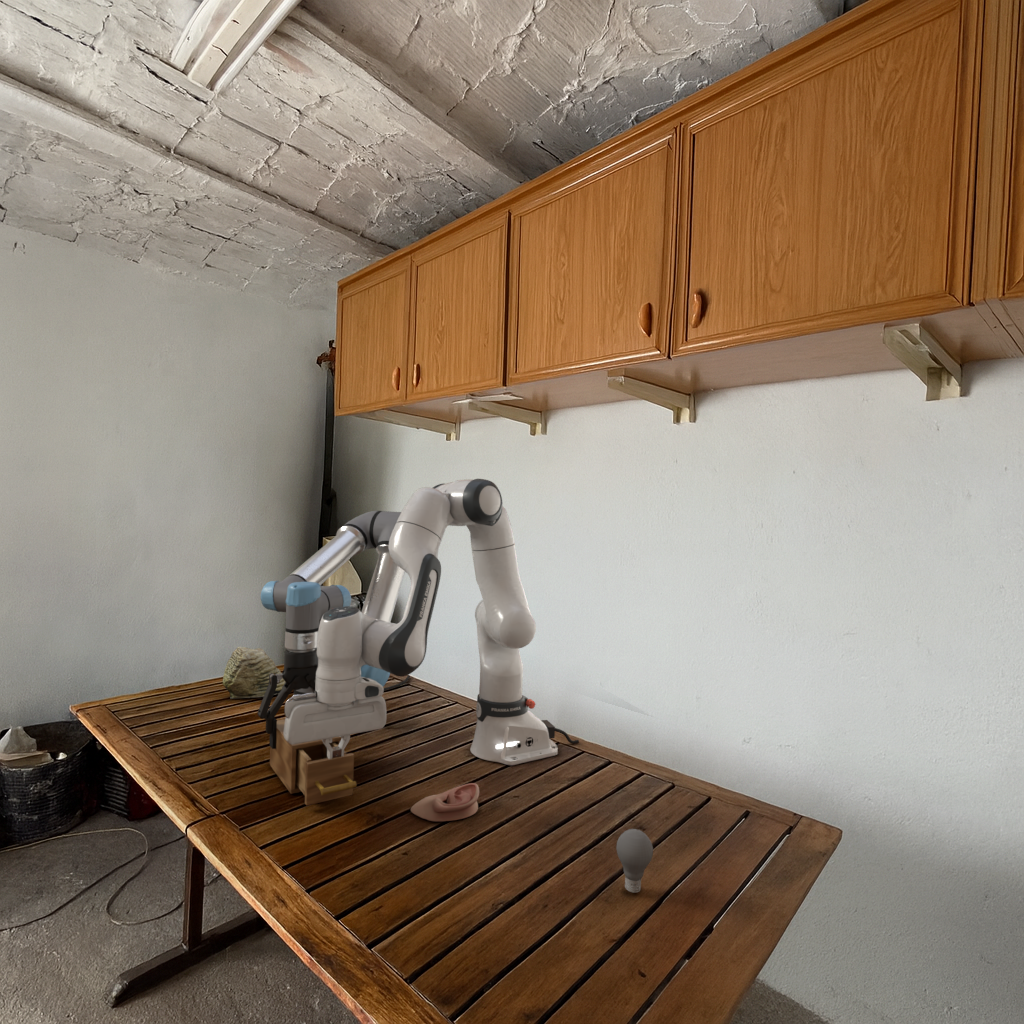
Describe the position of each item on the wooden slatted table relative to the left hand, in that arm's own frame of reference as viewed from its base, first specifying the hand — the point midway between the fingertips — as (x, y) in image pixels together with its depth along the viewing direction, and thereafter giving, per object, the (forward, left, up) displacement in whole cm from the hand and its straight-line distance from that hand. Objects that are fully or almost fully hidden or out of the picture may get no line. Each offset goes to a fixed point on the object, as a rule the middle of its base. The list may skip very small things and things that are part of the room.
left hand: (298, 742), depth 148 cm
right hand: (+7, +24, +6) cm, 26 cm away
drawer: (+5, +17, -4) cm, 18 cm away
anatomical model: (-9, +40, -6) cm, 41 cm away
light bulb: (-11, +82, -6) cm, 83 cm away
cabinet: (+1, +5, -5) cm, 8 cm away
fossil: (-20, -55, -6) cm, 58 cm away
